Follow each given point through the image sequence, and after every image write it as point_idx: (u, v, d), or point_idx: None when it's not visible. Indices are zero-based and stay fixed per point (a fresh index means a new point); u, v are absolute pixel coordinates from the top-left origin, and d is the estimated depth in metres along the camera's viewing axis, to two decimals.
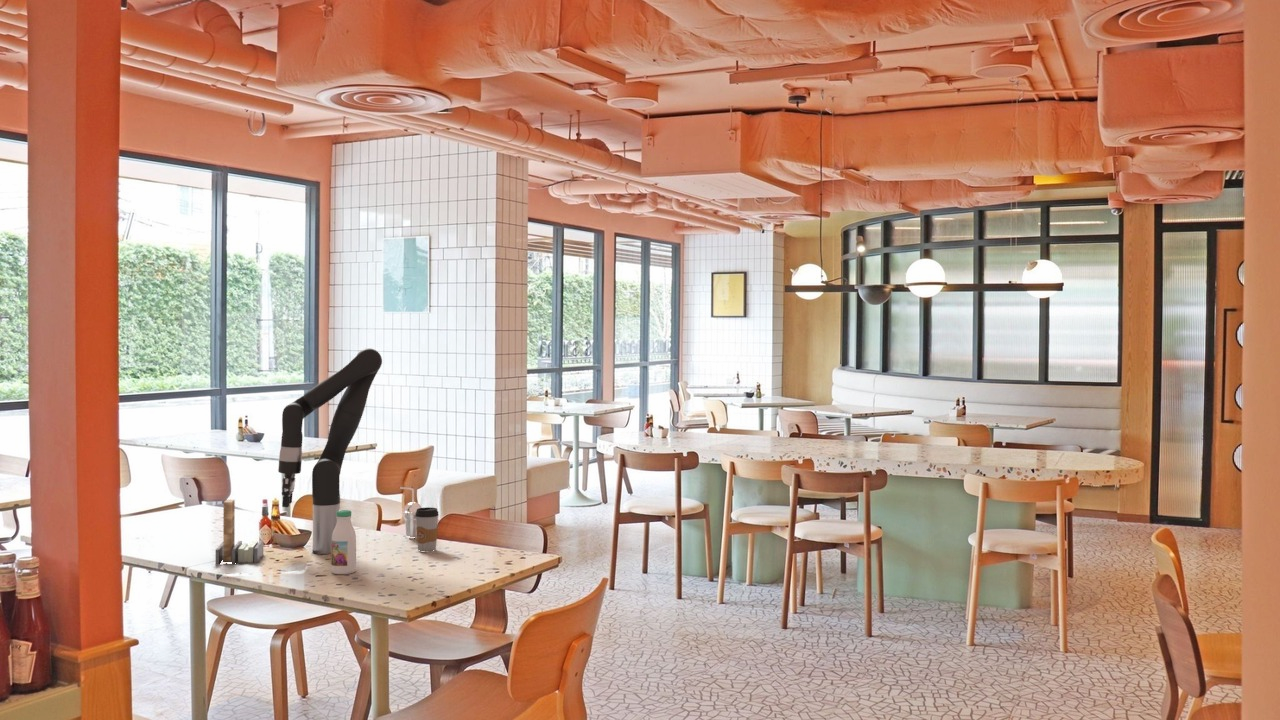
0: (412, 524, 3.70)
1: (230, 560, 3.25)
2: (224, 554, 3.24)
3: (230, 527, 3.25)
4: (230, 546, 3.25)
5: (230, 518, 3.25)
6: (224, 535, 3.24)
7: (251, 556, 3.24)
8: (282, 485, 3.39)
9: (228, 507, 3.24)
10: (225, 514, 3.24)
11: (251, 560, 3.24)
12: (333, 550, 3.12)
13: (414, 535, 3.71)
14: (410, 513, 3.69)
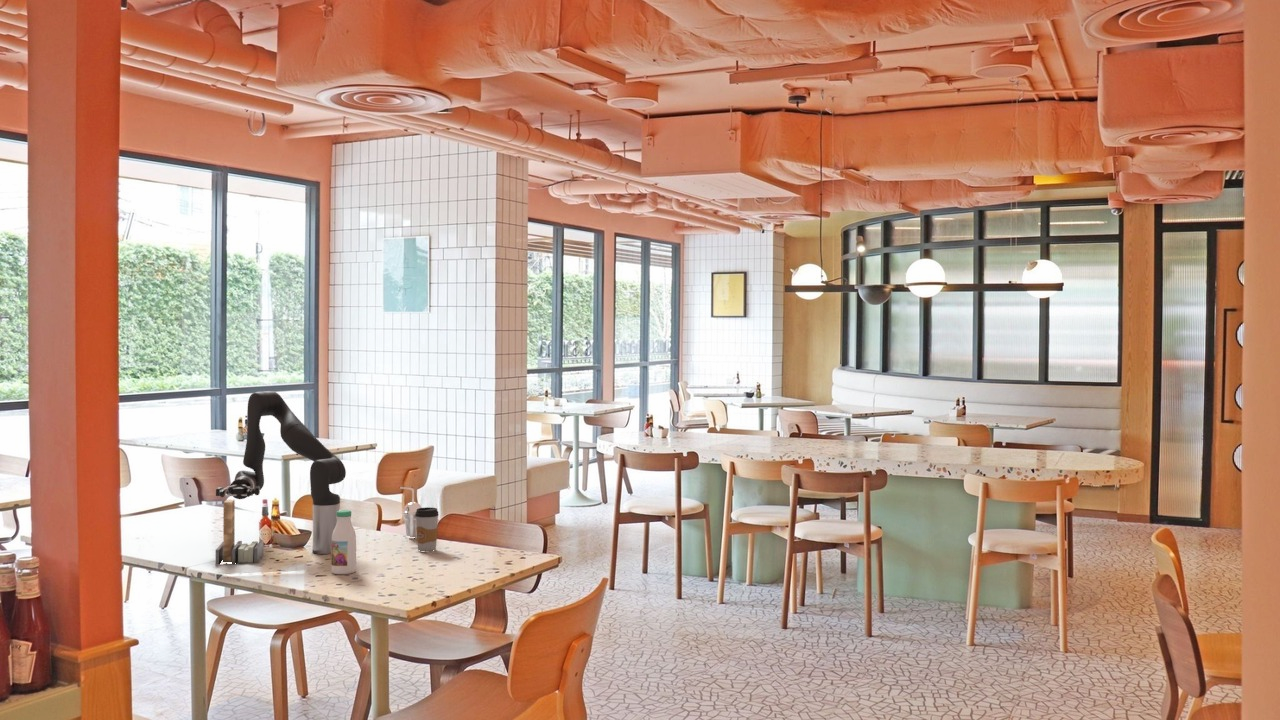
0: (412, 524, 3.70)
1: (230, 560, 3.25)
2: (224, 554, 3.24)
3: (230, 527, 3.25)
4: (230, 546, 3.25)
5: (230, 518, 3.25)
6: (224, 535, 3.24)
7: (251, 556, 3.24)
8: (228, 495, 3.45)
9: (228, 507, 3.24)
10: (225, 514, 3.24)
11: (251, 560, 3.24)
12: (333, 550, 3.12)
13: (414, 535, 3.71)
14: (410, 513, 3.69)
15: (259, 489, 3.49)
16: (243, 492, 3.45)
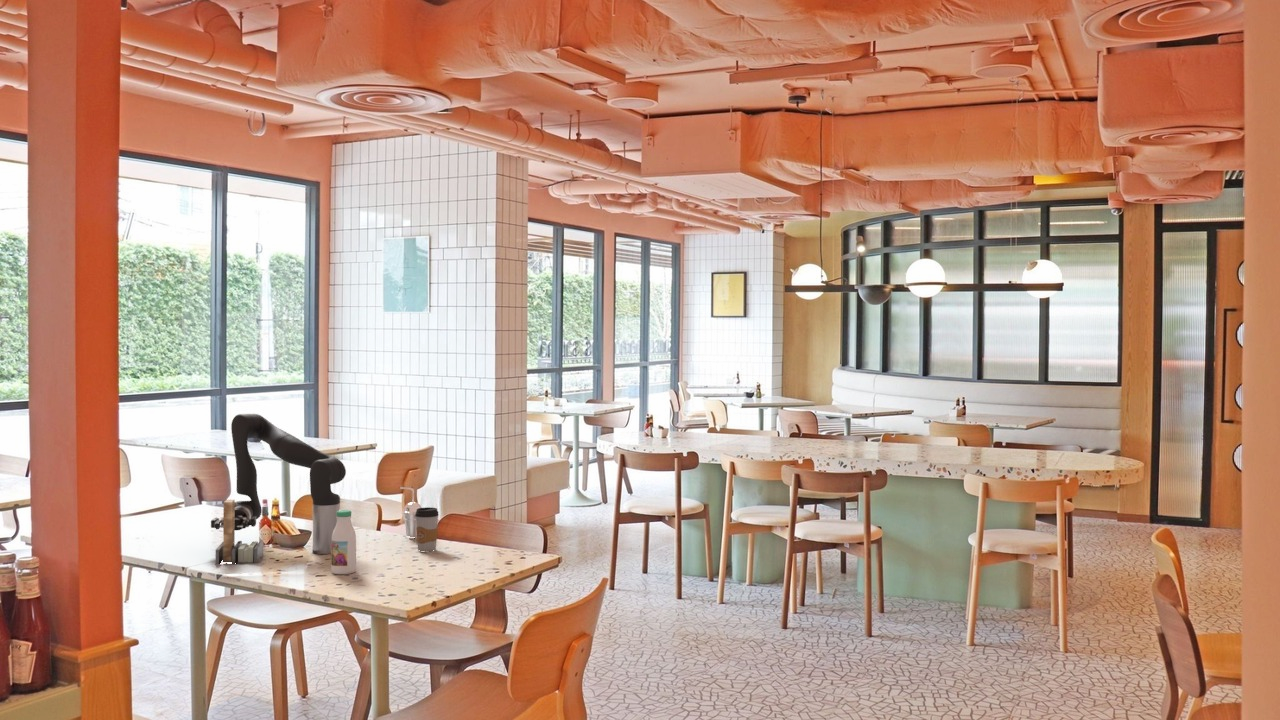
0: (412, 524, 3.70)
1: (230, 560, 3.25)
2: (224, 554, 3.24)
3: (230, 527, 3.25)
4: (230, 546, 3.25)
5: (230, 518, 3.25)
6: (224, 535, 3.24)
7: (251, 556, 3.24)
8: None
9: (228, 507, 3.24)
10: (225, 514, 3.24)
11: (251, 560, 3.24)
12: (333, 550, 3.12)
13: (414, 535, 3.71)
14: (410, 513, 3.69)
15: None
16: (239, 523, 3.37)
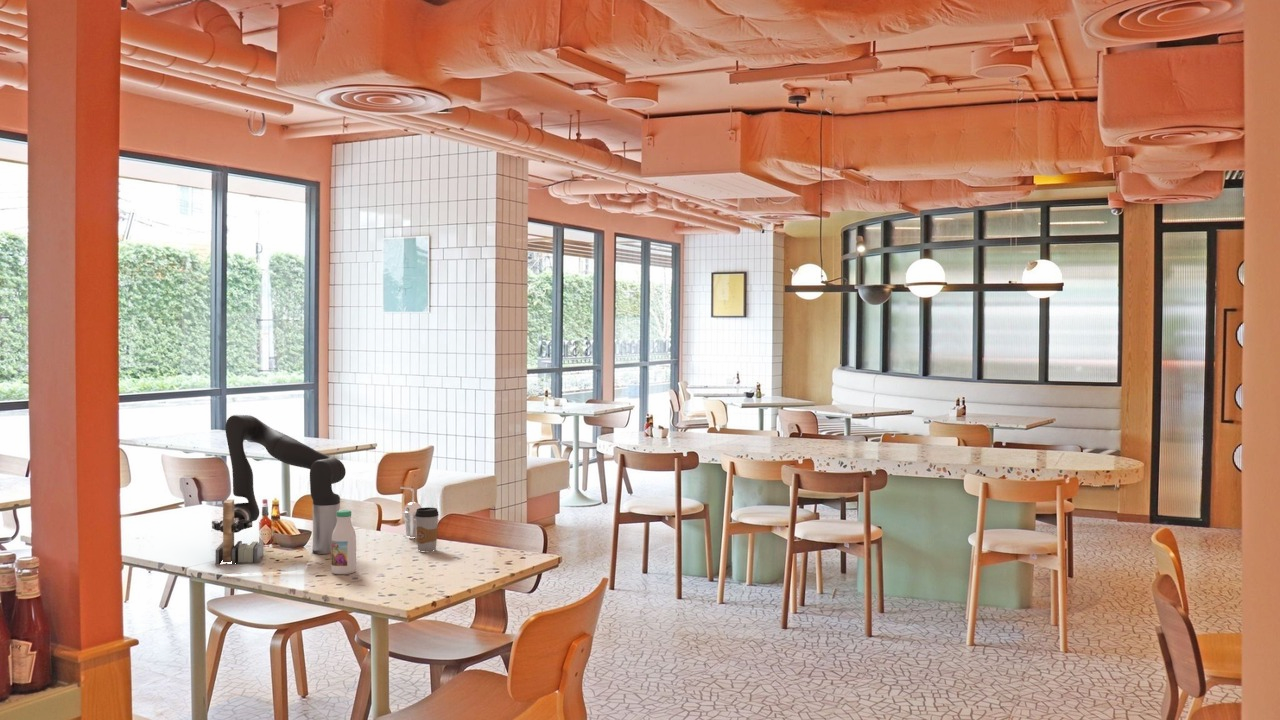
0: (412, 524, 3.70)
1: (230, 560, 3.25)
2: (224, 554, 3.24)
3: (230, 527, 3.24)
4: (230, 546, 3.24)
5: (230, 518, 3.24)
6: (224, 535, 3.24)
7: (251, 556, 3.24)
8: None
9: (228, 508, 3.24)
10: (225, 514, 3.24)
11: (251, 560, 3.24)
12: (333, 550, 3.12)
13: (414, 535, 3.71)
14: (410, 513, 3.69)
15: (250, 523, 3.34)
16: None
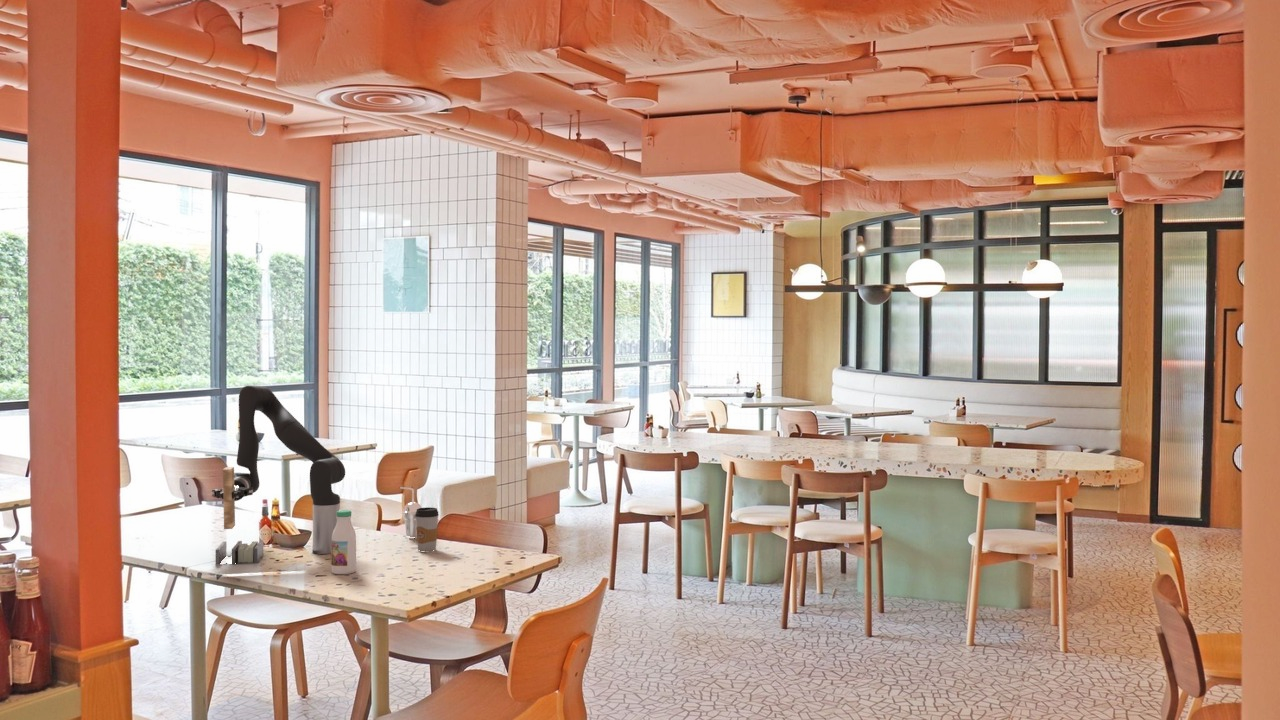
0: (412, 524, 3.70)
1: (231, 527, 3.24)
2: (224, 521, 3.24)
3: (230, 494, 3.24)
4: (230, 513, 3.24)
5: (230, 485, 3.24)
6: (224, 502, 3.24)
7: (251, 556, 3.24)
8: None
9: (228, 474, 3.24)
10: (225, 481, 3.24)
11: (251, 560, 3.24)
12: (333, 550, 3.12)
13: (414, 535, 3.71)
14: (410, 513, 3.69)
15: (250, 491, 3.33)
16: None
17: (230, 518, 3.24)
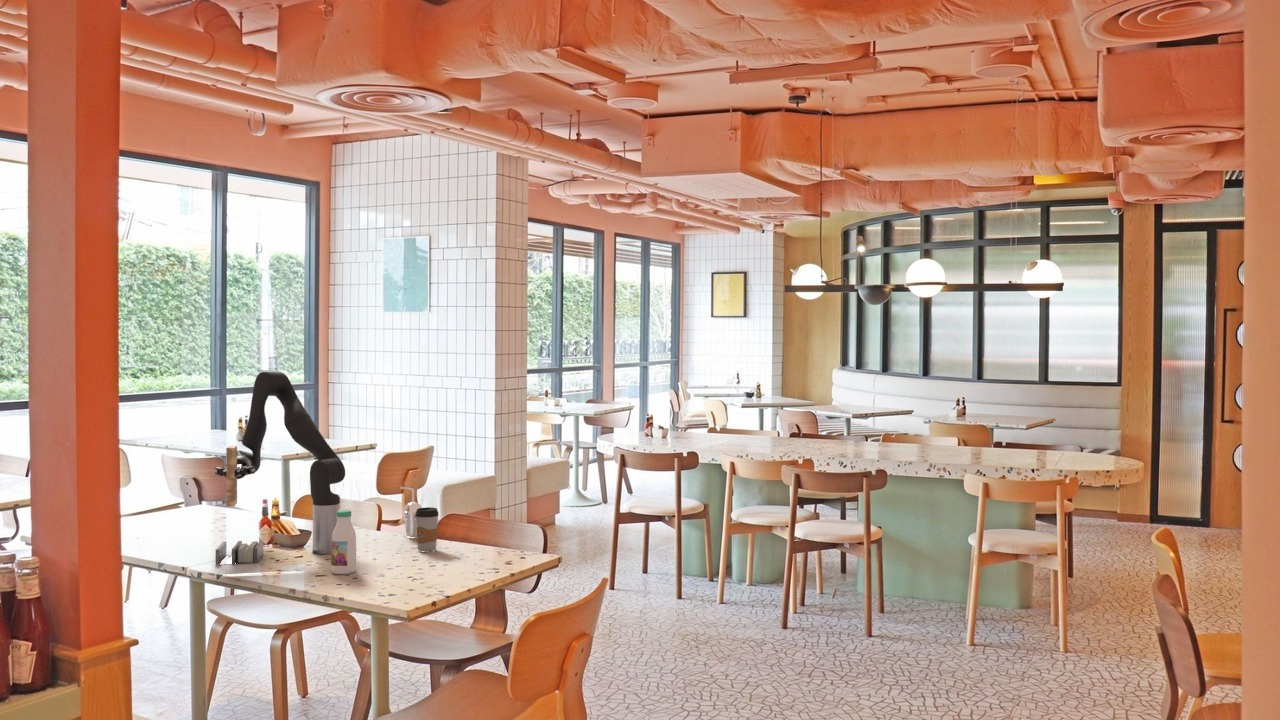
0: (412, 524, 3.70)
1: (233, 505, 3.30)
2: (227, 499, 3.29)
3: (233, 472, 3.30)
4: (233, 491, 3.30)
5: (233, 463, 3.30)
6: (227, 480, 3.29)
7: (251, 556, 3.24)
8: None
9: (231, 453, 3.29)
10: (228, 459, 3.29)
11: (251, 560, 3.24)
12: (333, 550, 3.12)
13: (414, 535, 3.71)
14: (410, 513, 3.69)
15: (252, 469, 3.39)
16: None
17: (232, 496, 3.30)
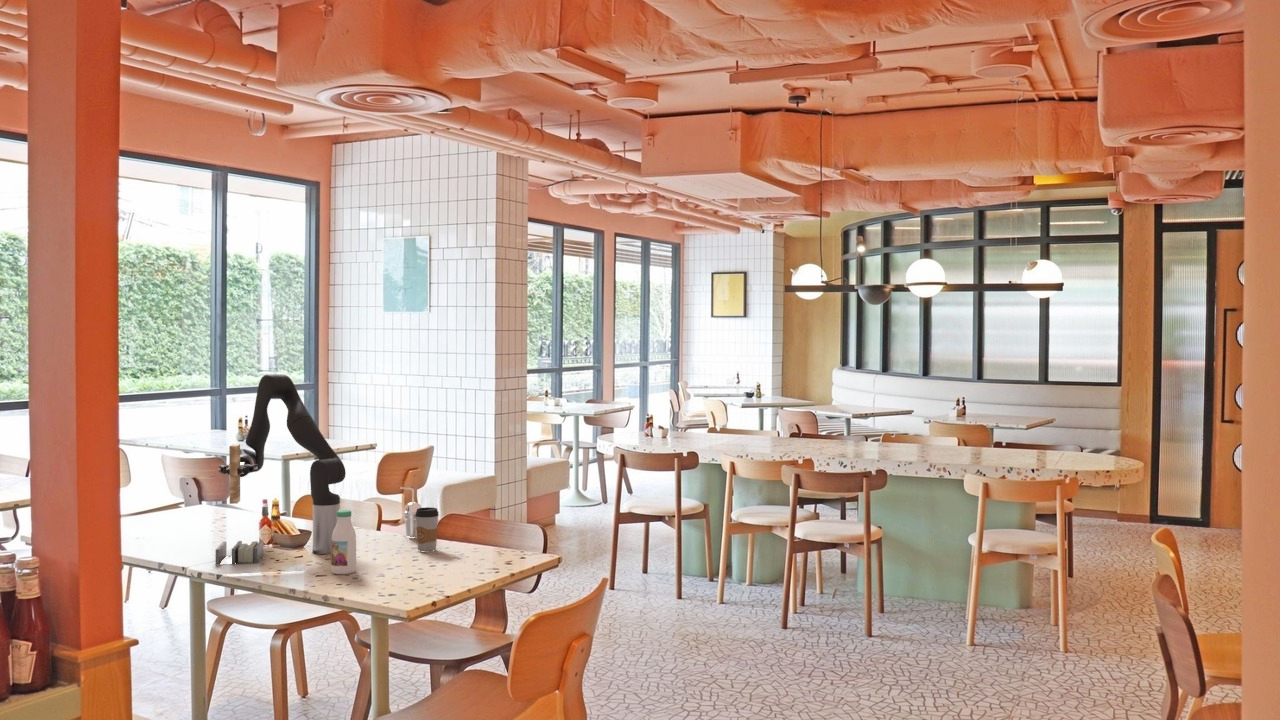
0: (412, 524, 3.70)
1: (236, 502, 3.36)
2: (230, 496, 3.36)
3: (236, 470, 3.36)
4: (236, 488, 3.36)
5: (236, 461, 3.36)
6: (230, 478, 3.35)
7: (251, 556, 3.24)
8: None
9: (234, 451, 3.35)
10: (231, 457, 3.35)
11: (251, 560, 3.24)
12: (333, 550, 3.12)
13: (414, 535, 3.71)
14: (410, 513, 3.69)
15: (255, 467, 3.45)
16: None
17: (236, 493, 3.36)
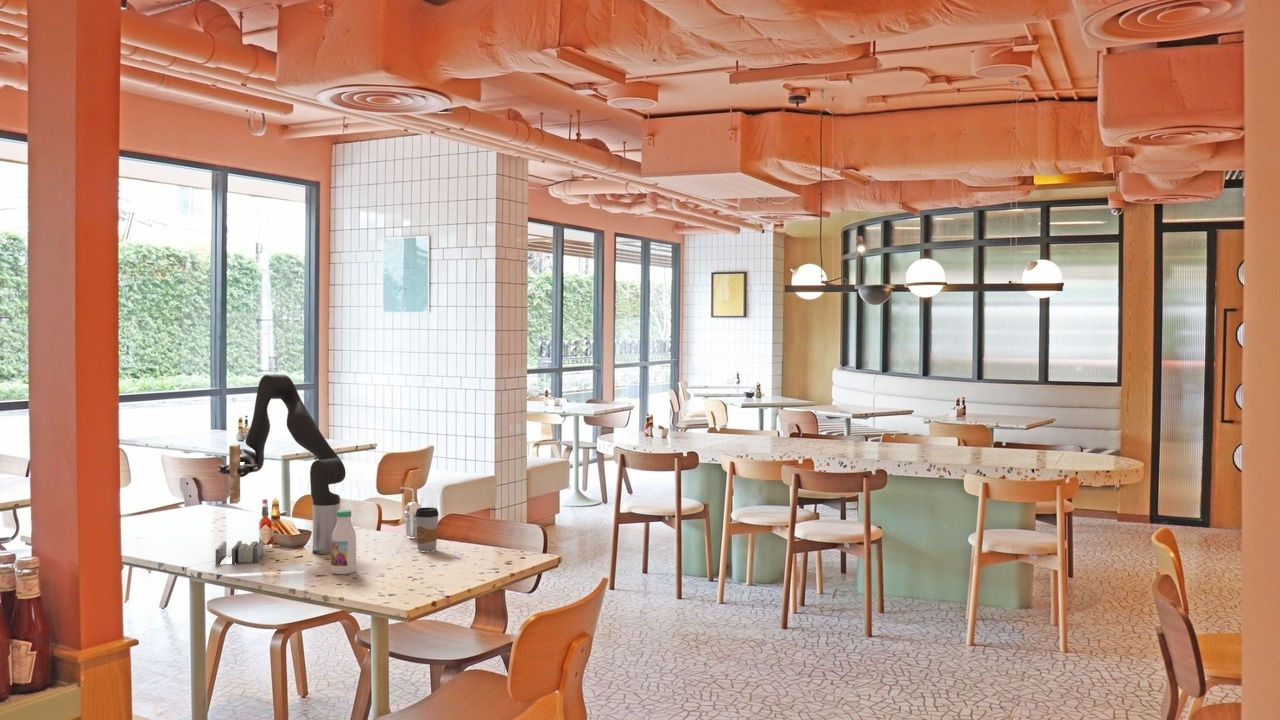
0: (412, 524, 3.70)
1: (236, 502, 3.36)
2: (230, 496, 3.36)
3: (236, 470, 3.36)
4: (236, 488, 3.36)
5: (236, 461, 3.36)
6: (230, 478, 3.35)
7: (251, 556, 3.24)
8: None
9: (234, 451, 3.35)
10: (231, 457, 3.35)
11: (251, 560, 3.24)
12: (333, 550, 3.12)
13: (414, 535, 3.71)
14: (410, 513, 3.69)
15: (255, 467, 3.45)
16: None
17: (236, 493, 3.36)
